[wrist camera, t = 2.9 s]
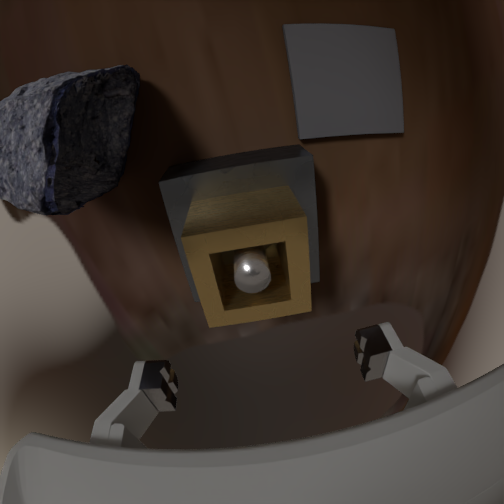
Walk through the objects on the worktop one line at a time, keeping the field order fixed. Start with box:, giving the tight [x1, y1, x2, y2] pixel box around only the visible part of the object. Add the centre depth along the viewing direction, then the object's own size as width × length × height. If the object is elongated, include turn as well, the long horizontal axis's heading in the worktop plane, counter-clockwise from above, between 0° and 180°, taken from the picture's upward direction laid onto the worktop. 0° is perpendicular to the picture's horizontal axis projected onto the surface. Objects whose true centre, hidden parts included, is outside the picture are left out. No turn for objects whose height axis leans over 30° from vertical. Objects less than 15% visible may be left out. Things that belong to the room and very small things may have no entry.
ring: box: [181, 186, 311, 328], centre depth 19 cm, size 6×6×5 cm
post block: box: [159, 145, 320, 302], centre depth 20 cm, size 10×10×9 cm
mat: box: [282, 24, 404, 139], centre depth 19 cm, size 9×9×1 cm
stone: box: [0, 65, 140, 215], centre depth 15 cm, size 12×10×10 cm
